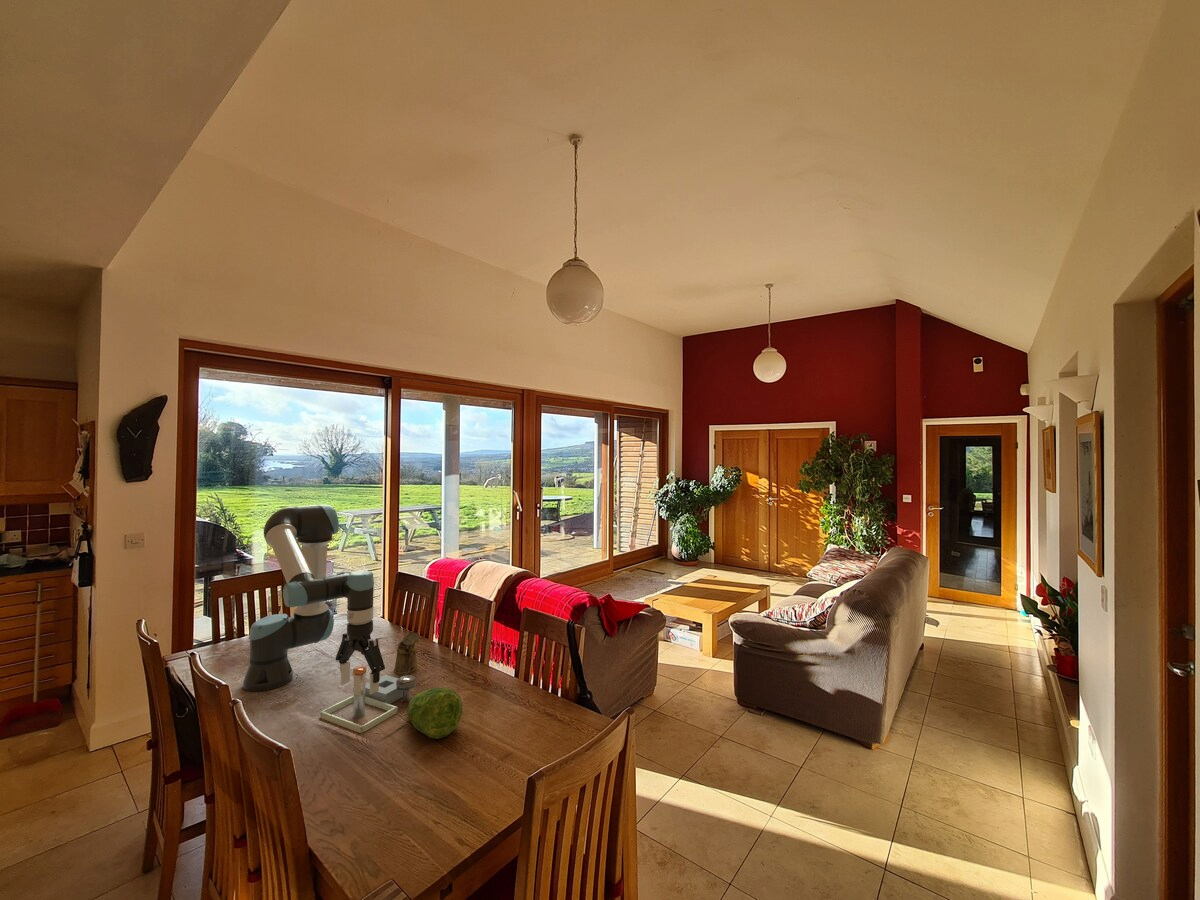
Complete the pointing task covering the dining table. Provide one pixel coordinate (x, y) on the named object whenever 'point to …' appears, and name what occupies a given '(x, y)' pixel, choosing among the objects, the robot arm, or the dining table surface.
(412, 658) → the wooden mug
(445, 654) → the dining table surface
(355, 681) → the pin
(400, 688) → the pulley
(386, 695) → the block
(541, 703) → the dining table surface
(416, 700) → the lettuce
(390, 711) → the tray
